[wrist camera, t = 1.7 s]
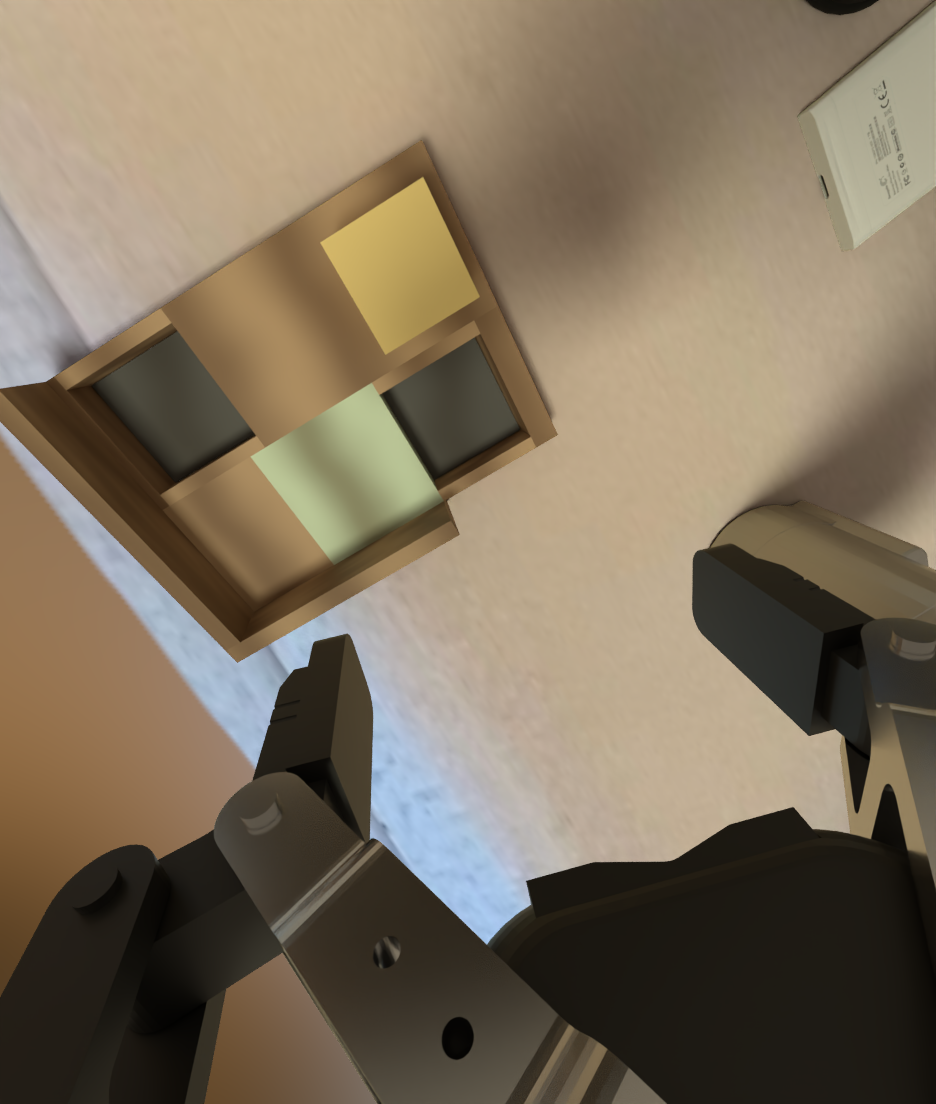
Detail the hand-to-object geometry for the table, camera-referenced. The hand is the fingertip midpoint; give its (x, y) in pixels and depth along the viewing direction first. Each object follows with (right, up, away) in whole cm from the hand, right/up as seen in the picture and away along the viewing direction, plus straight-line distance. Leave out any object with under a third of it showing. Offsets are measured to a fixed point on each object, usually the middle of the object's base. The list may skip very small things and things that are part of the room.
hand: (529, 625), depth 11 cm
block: (-5, +16, +14) cm, 22 cm away
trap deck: (-10, +11, +19) cm, 23 cm away
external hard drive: (+24, +27, +18) cm, 40 cm away
